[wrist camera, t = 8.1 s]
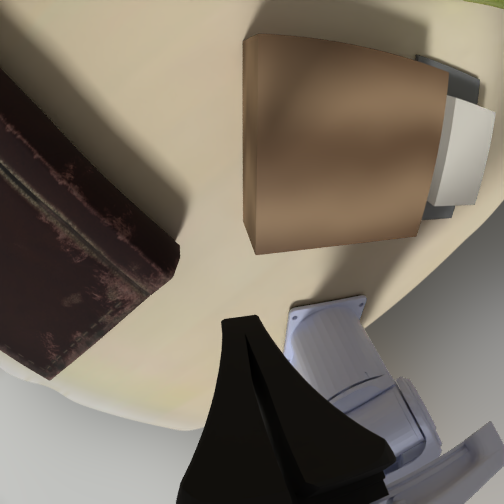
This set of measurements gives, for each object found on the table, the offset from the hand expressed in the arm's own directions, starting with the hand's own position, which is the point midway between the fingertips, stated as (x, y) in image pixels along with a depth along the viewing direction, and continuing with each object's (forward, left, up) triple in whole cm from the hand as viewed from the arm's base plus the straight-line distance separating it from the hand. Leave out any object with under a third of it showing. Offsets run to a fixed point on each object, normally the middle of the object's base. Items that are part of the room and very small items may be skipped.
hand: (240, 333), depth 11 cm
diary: (+3, +17, -11) cm, 21 cm away
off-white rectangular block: (+5, -20, -8) cm, 22 cm away
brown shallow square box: (+5, -8, -10) cm, 14 cm away
